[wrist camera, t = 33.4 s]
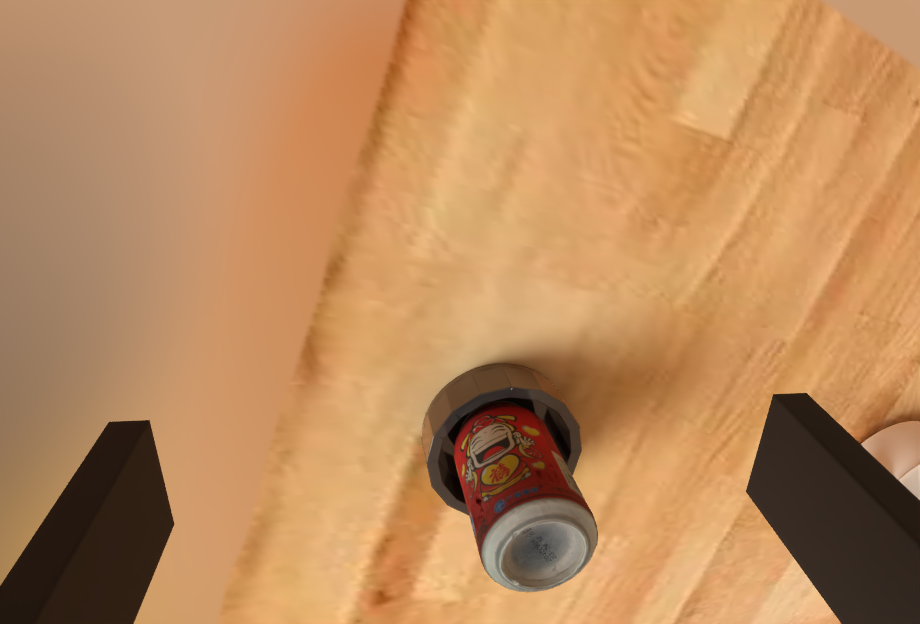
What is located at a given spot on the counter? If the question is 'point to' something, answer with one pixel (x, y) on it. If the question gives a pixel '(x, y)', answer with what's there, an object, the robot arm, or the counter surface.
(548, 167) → the counter surface
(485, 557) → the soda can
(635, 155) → the counter surface
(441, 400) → the holder
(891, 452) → the saucepan
